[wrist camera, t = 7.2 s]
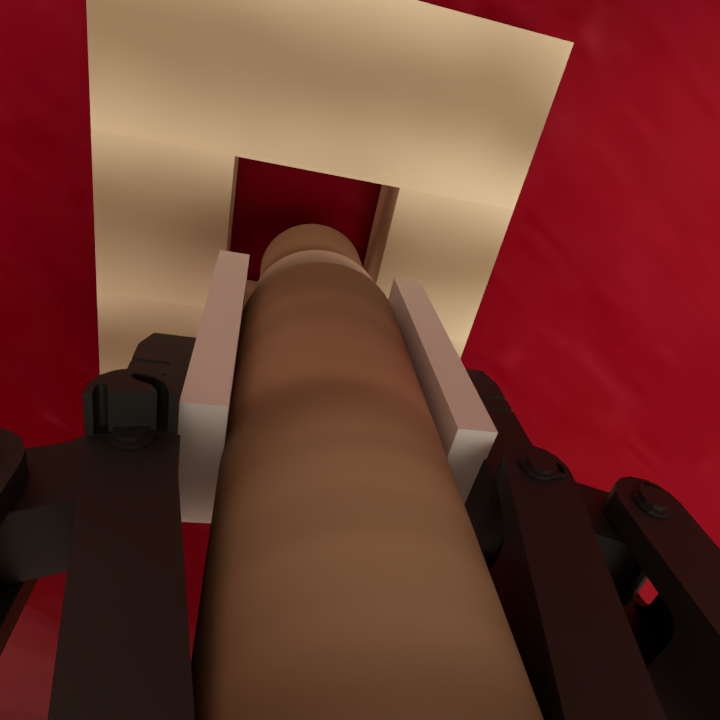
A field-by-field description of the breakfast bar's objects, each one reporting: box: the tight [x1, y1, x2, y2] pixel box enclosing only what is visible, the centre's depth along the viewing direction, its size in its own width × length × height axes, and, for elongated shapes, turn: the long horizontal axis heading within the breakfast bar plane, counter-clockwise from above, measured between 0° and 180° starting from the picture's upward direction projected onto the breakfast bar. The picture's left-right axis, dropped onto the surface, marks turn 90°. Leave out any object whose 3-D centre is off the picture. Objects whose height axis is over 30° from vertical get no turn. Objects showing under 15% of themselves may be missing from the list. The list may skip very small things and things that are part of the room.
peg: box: [191, 224, 544, 720], centre depth 11 cm, size 4×4×14 cm
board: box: [86, 0, 574, 375], centre depth 20 cm, size 16×14×3 cm
